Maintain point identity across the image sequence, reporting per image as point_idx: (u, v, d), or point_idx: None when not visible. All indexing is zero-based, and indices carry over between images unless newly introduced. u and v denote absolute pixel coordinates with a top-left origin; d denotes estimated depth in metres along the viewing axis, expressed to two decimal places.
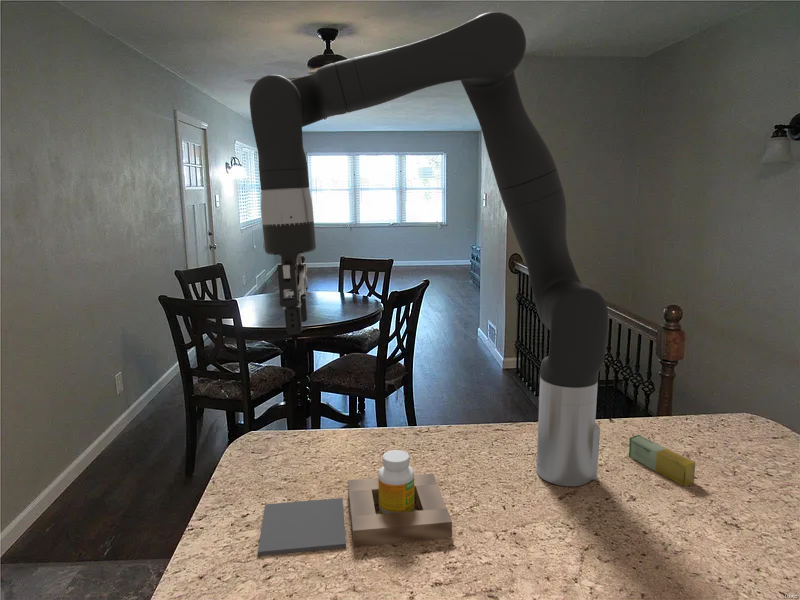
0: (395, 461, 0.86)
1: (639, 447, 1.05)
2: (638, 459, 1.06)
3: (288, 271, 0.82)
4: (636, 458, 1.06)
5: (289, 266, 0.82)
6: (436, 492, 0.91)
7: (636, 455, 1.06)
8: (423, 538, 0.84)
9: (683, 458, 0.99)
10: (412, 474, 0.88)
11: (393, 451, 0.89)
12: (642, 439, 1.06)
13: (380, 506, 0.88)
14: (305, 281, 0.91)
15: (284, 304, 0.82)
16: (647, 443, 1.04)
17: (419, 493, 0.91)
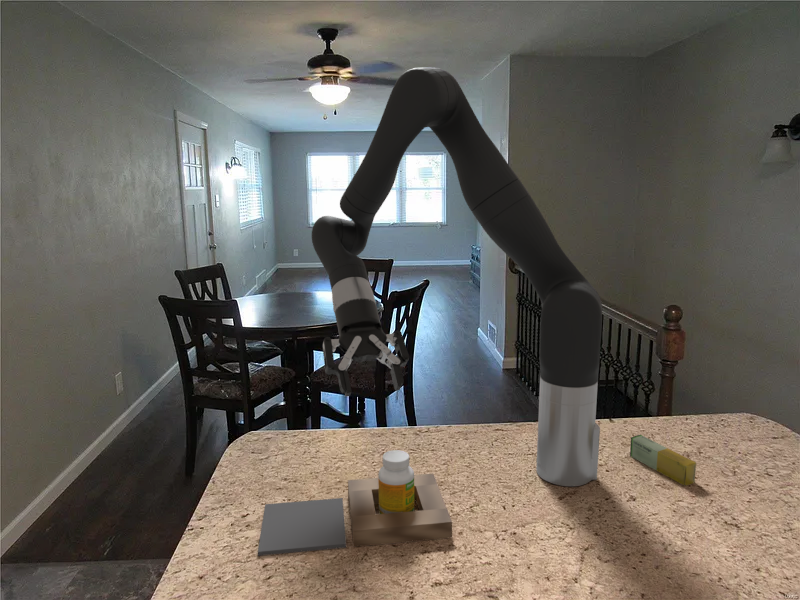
0: (395, 461, 0.86)
1: (640, 447, 1.05)
2: (639, 459, 1.06)
3: (323, 344, 1.00)
4: (637, 458, 1.06)
5: None
6: (436, 492, 0.91)
7: (637, 455, 1.06)
8: (423, 538, 0.84)
9: (684, 458, 0.99)
10: (412, 474, 0.88)
11: (393, 451, 0.89)
12: (643, 439, 1.06)
13: (380, 506, 0.88)
14: (380, 350, 1.00)
15: (326, 371, 0.98)
16: (648, 443, 1.05)
17: (419, 493, 0.91)
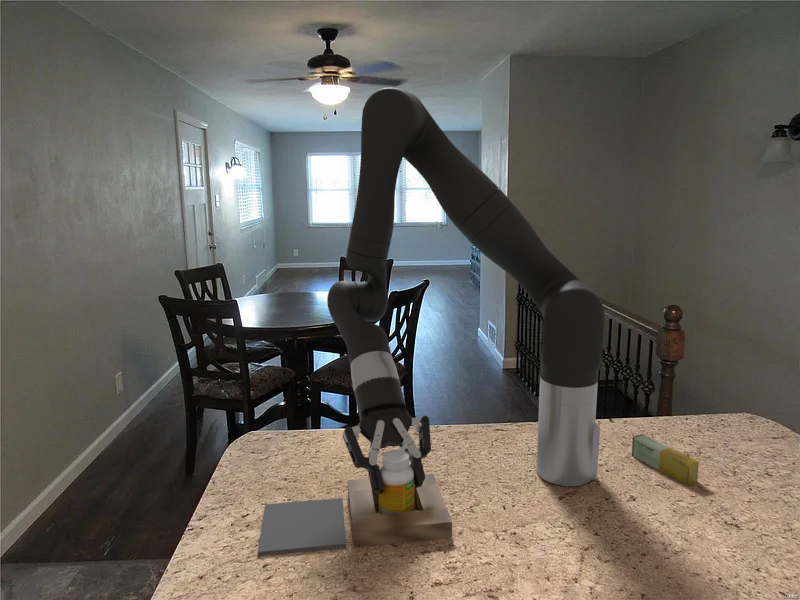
0: (395, 461, 0.86)
1: (642, 446, 1.05)
2: (641, 458, 1.06)
3: (345, 435, 0.90)
4: (639, 457, 1.06)
5: None
6: (436, 492, 0.91)
7: (639, 455, 1.06)
8: (423, 538, 0.84)
9: (686, 457, 0.99)
10: (411, 474, 0.88)
11: (393, 451, 0.89)
12: (645, 438, 1.06)
13: (380, 506, 0.88)
14: (402, 437, 0.90)
15: (355, 464, 0.89)
16: (650, 442, 1.05)
17: (419, 493, 0.91)
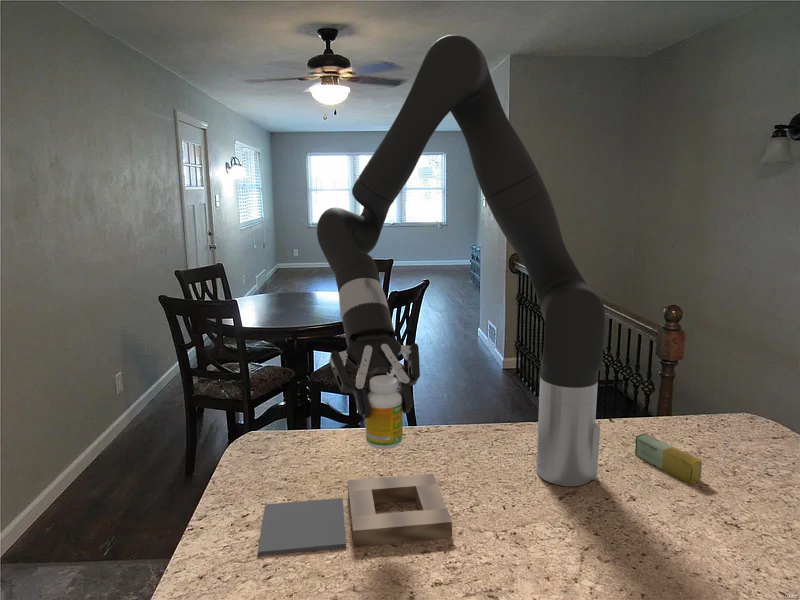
0: (383, 384, 0.84)
1: (646, 445, 1.05)
2: (644, 457, 1.06)
3: (331, 360, 0.87)
4: (642, 456, 1.07)
5: None
6: (436, 492, 0.91)
7: (643, 454, 1.06)
8: (423, 538, 0.84)
9: (690, 456, 1.00)
10: (399, 398, 0.85)
11: (381, 376, 0.87)
12: (648, 437, 1.07)
13: (367, 432, 0.86)
14: (390, 363, 0.88)
15: (341, 389, 0.86)
16: (653, 441, 1.05)
17: (419, 493, 0.91)
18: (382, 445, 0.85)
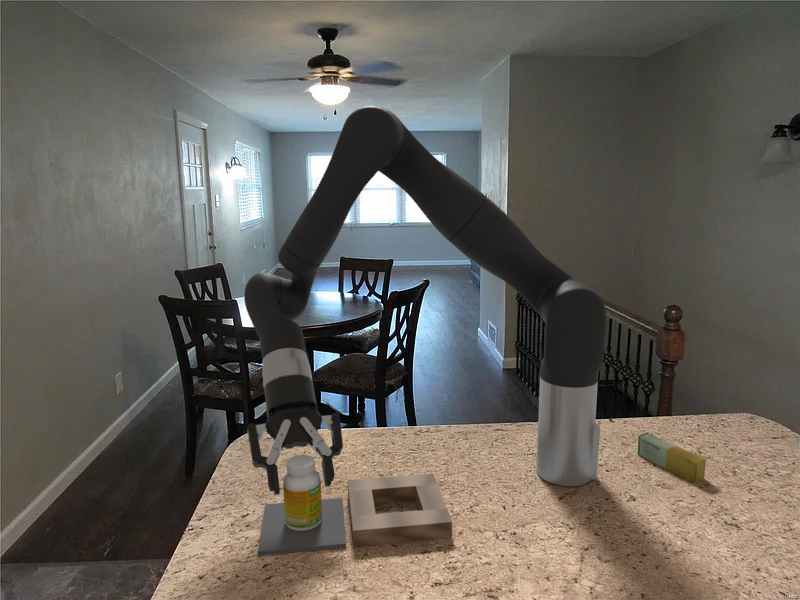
0: (298, 467, 0.84)
1: (649, 445, 1.06)
2: (647, 457, 1.06)
3: None
4: (645, 456, 1.07)
5: None
6: (436, 492, 0.91)
7: (645, 453, 1.07)
8: (423, 538, 0.84)
9: (694, 455, 1.00)
10: (316, 480, 0.85)
11: (299, 456, 0.87)
12: (651, 437, 1.07)
13: (285, 513, 0.86)
14: (310, 436, 0.87)
15: (253, 464, 0.85)
16: (656, 441, 1.05)
17: (419, 493, 0.91)
18: (299, 527, 0.85)
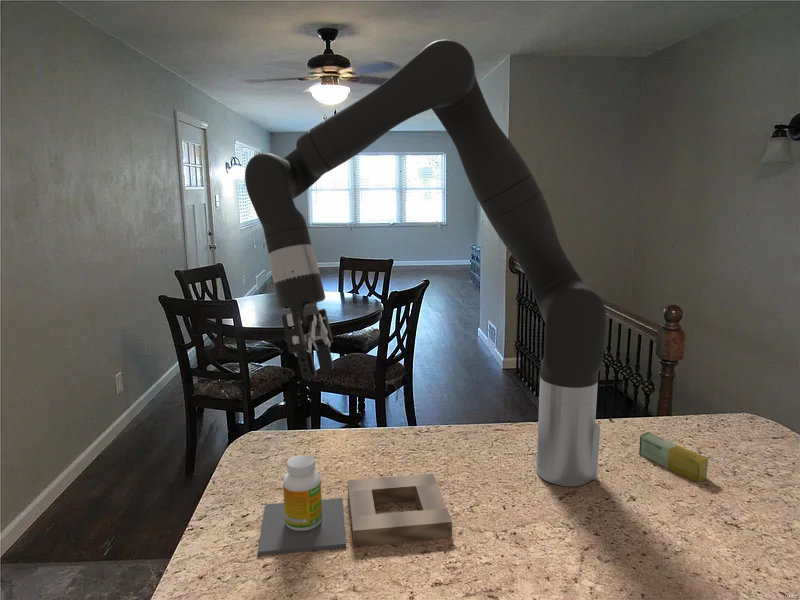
0: (298, 467, 0.84)
1: (650, 444, 1.06)
2: (649, 456, 1.07)
3: (291, 319, 0.89)
4: (647, 455, 1.07)
5: (292, 314, 0.89)
6: (436, 492, 0.91)
7: (647, 453, 1.07)
8: (423, 538, 0.84)
9: (696, 454, 1.00)
10: (316, 480, 0.85)
11: (299, 456, 0.87)
12: (652, 436, 1.07)
13: (285, 513, 0.86)
14: (323, 331, 0.98)
15: (292, 350, 0.89)
16: (658, 440, 1.05)
17: (419, 493, 0.91)
18: (299, 527, 0.85)
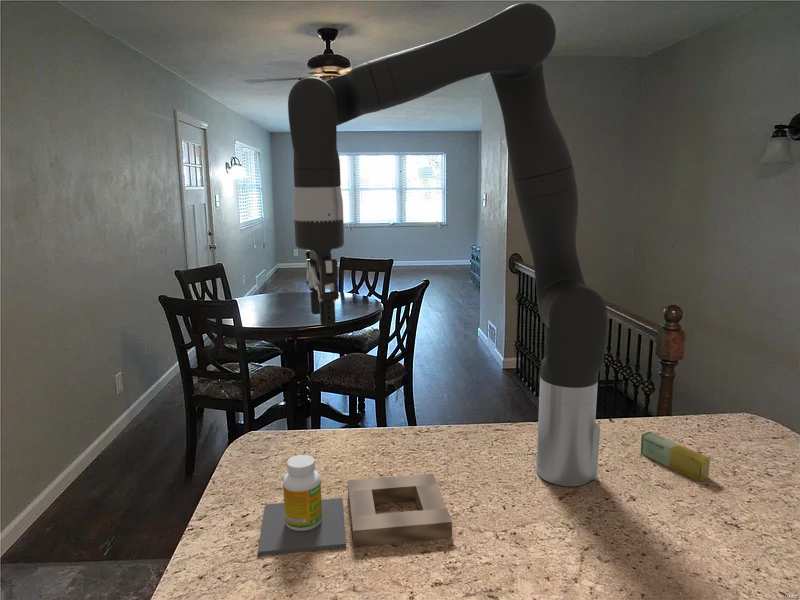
0: (298, 467, 0.84)
1: (652, 444, 1.06)
2: (650, 456, 1.07)
3: (330, 266, 0.86)
4: (648, 455, 1.07)
5: (331, 261, 0.86)
6: (436, 492, 0.91)
7: (649, 452, 1.07)
8: (423, 538, 0.84)
9: (697, 454, 1.00)
10: (316, 480, 0.85)
11: (299, 456, 0.87)
12: (654, 436, 1.07)
13: (285, 513, 0.86)
14: None
15: (325, 297, 0.87)
16: (659, 440, 1.06)
17: (419, 493, 0.91)
18: (299, 527, 0.85)
